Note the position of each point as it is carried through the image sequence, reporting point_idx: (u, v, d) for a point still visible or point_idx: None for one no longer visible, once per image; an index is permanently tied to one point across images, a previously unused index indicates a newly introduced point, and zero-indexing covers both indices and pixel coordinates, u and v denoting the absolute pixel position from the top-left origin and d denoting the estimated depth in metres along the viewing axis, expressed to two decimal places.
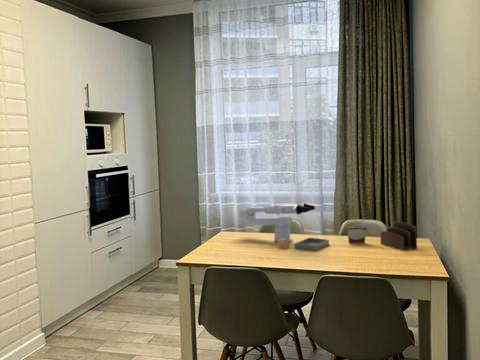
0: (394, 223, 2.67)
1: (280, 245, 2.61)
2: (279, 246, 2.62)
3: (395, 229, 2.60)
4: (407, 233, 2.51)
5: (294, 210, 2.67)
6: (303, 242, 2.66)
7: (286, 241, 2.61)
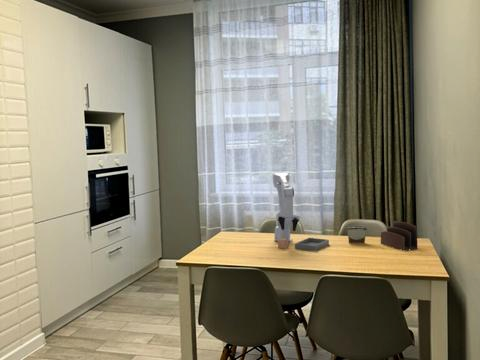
0: (394, 223, 2.67)
1: (280, 245, 2.61)
2: (279, 246, 2.62)
3: (395, 229, 2.60)
4: (408, 233, 2.51)
5: None
6: (303, 242, 2.66)
7: (286, 241, 2.61)
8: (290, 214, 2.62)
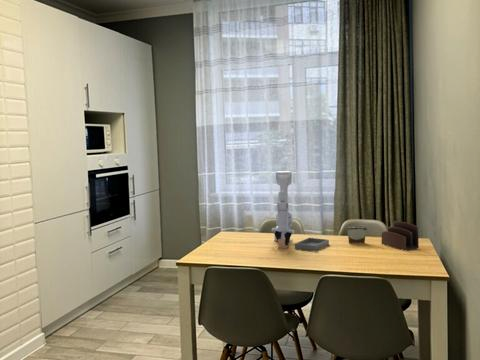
0: (395, 223, 2.67)
1: (280, 245, 2.61)
2: (279, 246, 2.62)
3: (396, 229, 2.60)
4: (409, 233, 2.51)
5: None
6: (303, 242, 2.66)
7: None
8: (285, 228, 2.59)
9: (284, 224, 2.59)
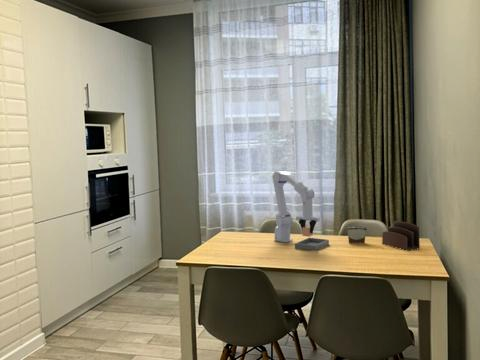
0: (395, 223, 2.67)
1: (305, 233, 2.61)
2: (303, 234, 2.61)
3: (397, 229, 2.60)
4: (410, 233, 2.51)
5: None
6: (303, 242, 2.66)
7: None
8: (309, 216, 2.59)
9: (309, 212, 2.59)
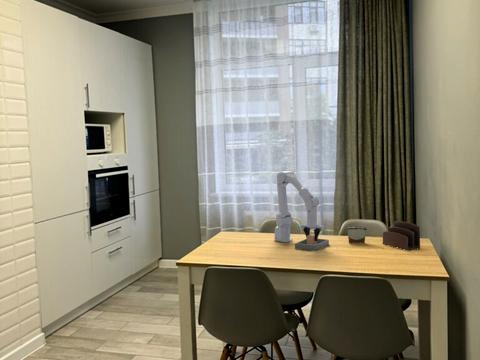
0: (396, 223, 2.67)
1: (309, 241, 2.61)
2: (308, 242, 2.62)
3: (398, 229, 2.60)
4: (411, 233, 2.51)
5: None
6: (303, 242, 2.66)
7: None
8: (314, 224, 2.59)
9: (313, 220, 2.59)
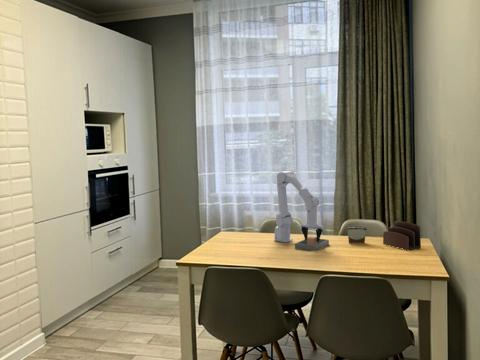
0: (396, 223, 2.68)
1: (309, 243, 2.61)
2: (308, 244, 2.62)
3: (398, 229, 2.60)
4: (411, 233, 2.51)
5: None
6: (303, 242, 2.66)
7: (315, 239, 2.61)
8: (314, 224, 2.59)
9: (313, 220, 2.59)
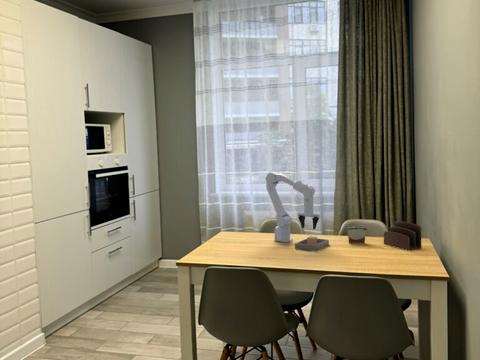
0: (396, 223, 2.68)
1: (309, 243, 2.61)
2: (308, 244, 2.62)
3: (399, 229, 2.60)
4: (412, 233, 2.51)
5: None
6: (303, 242, 2.66)
7: (315, 239, 2.61)
8: (310, 213, 2.67)
9: (310, 208, 2.67)
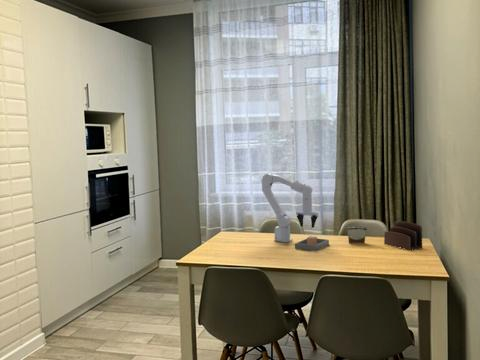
0: (397, 223, 2.68)
1: (309, 243, 2.61)
2: (308, 244, 2.62)
3: (399, 229, 2.61)
4: (413, 233, 2.52)
5: None
6: (303, 242, 2.66)
7: (315, 239, 2.61)
8: (309, 211, 2.72)
9: (308, 207, 2.71)
